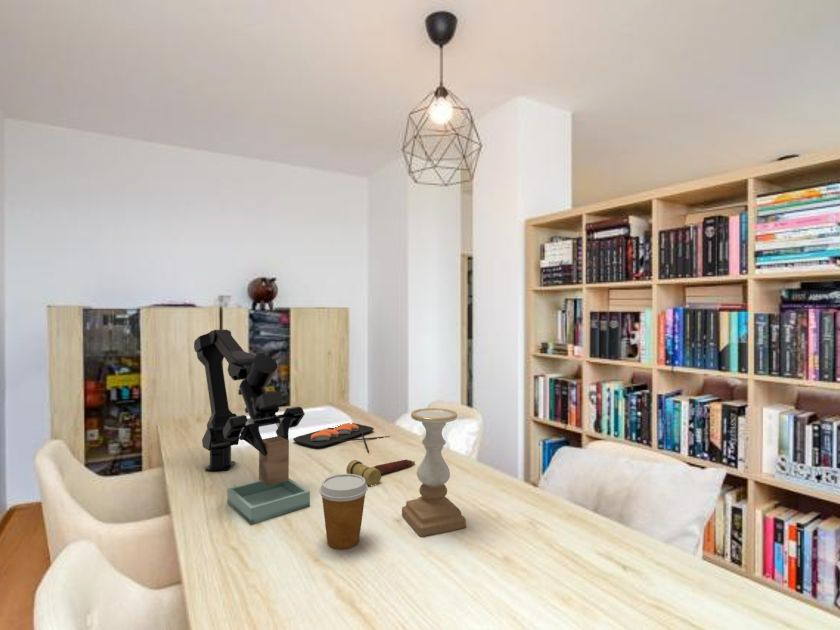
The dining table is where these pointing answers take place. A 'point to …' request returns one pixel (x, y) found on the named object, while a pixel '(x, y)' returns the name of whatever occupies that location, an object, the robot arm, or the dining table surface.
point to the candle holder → (433, 480)
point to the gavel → (376, 470)
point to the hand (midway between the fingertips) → (276, 452)
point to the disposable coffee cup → (343, 509)
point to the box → (267, 500)
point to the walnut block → (274, 461)
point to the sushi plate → (335, 435)
